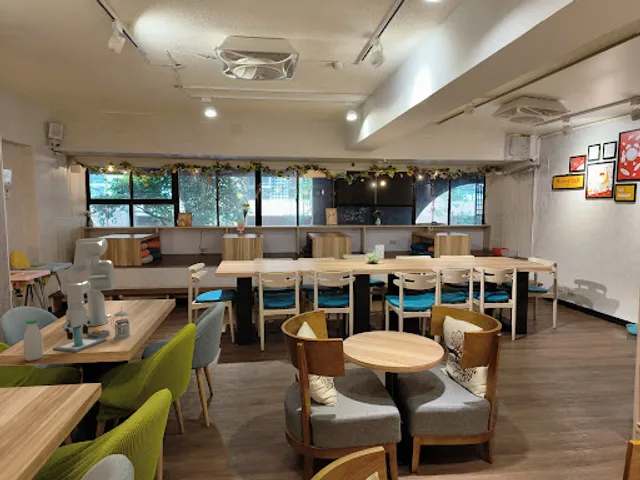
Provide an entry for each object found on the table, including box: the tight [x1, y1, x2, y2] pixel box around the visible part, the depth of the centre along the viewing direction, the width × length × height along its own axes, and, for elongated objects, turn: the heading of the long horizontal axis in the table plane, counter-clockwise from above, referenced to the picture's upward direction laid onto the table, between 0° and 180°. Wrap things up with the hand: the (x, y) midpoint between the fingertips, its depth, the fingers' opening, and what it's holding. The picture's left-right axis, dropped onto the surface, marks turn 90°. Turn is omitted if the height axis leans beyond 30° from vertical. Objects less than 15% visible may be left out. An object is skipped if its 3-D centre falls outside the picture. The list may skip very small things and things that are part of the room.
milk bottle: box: [23, 318, 44, 362], centre depth 205 cm, size 8×8×20 cm
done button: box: [94, 328, 103, 334], centre depth 238 cm, size 4×4×3 cm
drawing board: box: [52, 336, 107, 353], centre depth 225 cm, size 20×16×1 cm
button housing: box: [86, 329, 110, 339], centre depth 238 cm, size 8×8×3 cm
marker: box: [72, 325, 83, 346], centre depth 221 cm, size 4×4×12 cm
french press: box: [110, 294, 133, 341], centre depth 237 cm, size 10×12×25 cm
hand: (78, 336), depth 221 cm, fingers open, 9 cm apart
